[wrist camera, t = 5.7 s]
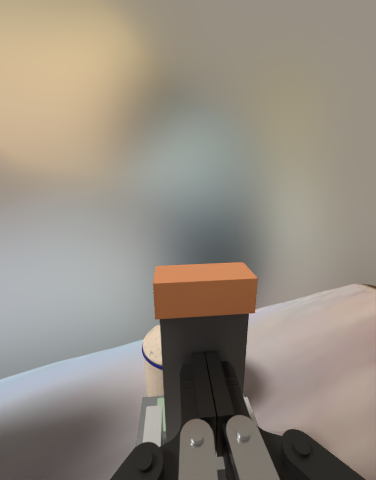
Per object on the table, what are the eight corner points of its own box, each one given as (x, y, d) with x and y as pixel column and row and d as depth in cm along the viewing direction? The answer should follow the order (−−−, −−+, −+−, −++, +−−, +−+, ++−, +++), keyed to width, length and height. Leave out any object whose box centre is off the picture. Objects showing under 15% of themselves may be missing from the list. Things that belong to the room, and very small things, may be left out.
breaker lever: (241, 476, 14) (258, 279, 11) (165, 485, 14) (152, 284, 10) (231, 435, 17) (242, 261, 13) (165, 442, 16) (155, 265, 12)
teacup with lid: (219, 411, 28) (220, 335, 26) (151, 438, 25) (145, 354, 23) (189, 351, 39) (188, 293, 37) (139, 364, 37) (134, 302, 34)
